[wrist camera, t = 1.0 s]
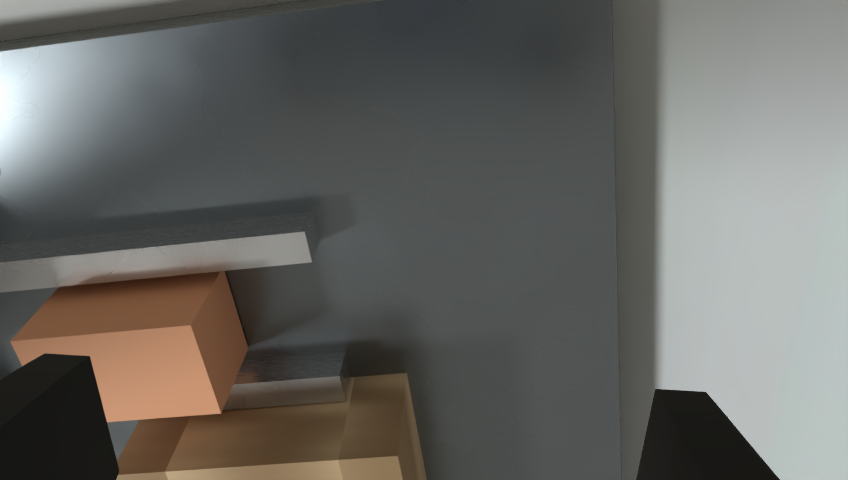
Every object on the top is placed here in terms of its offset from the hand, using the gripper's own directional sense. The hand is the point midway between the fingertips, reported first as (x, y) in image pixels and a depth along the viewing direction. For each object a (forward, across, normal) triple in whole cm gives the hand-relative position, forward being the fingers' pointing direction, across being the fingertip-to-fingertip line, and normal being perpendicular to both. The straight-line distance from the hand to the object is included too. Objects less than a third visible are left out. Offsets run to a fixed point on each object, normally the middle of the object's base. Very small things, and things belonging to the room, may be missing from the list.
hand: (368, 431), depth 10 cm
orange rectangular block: (+8, +7, +4) cm, 11 cm away
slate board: (+9, +6, +6) cm, 12 cm away
